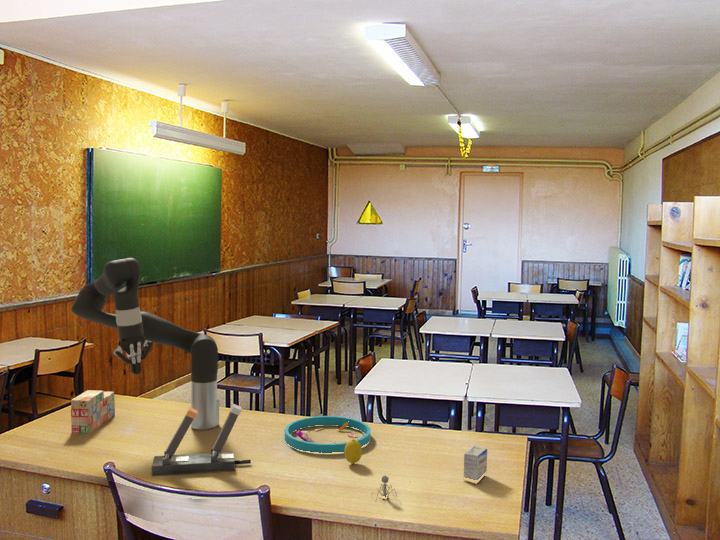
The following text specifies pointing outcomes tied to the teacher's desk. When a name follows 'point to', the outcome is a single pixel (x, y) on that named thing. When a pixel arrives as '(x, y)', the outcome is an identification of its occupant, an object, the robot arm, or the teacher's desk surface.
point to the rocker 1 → (181, 432)
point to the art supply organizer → (323, 420)
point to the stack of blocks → (91, 410)
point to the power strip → (195, 463)
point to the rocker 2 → (226, 429)
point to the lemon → (353, 451)
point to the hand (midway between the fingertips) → (136, 373)
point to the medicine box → (475, 463)
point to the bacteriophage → (385, 480)
